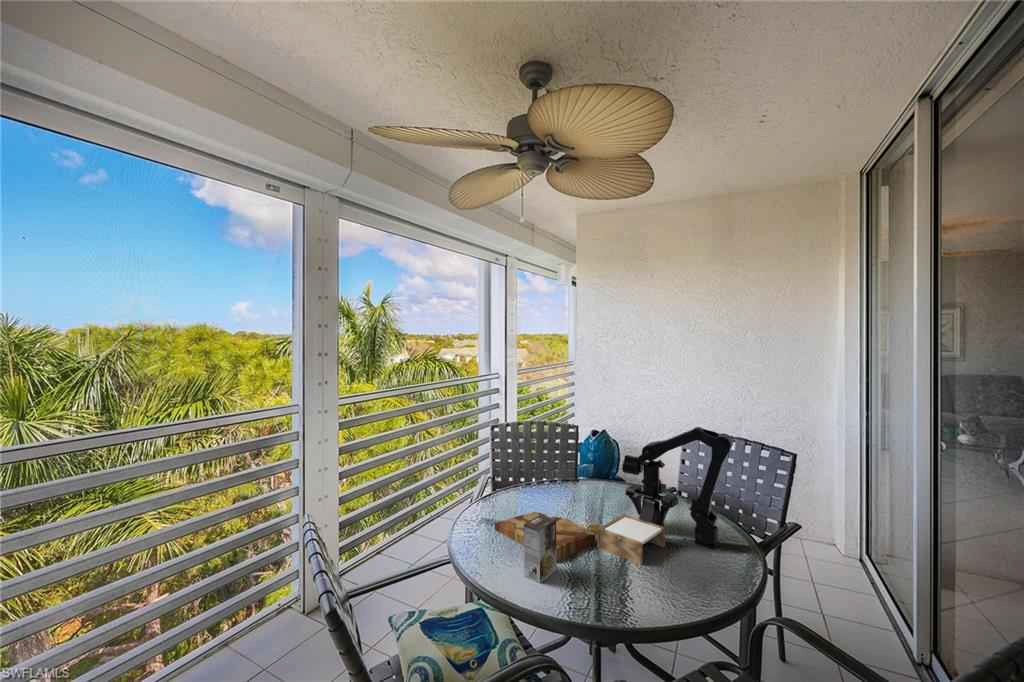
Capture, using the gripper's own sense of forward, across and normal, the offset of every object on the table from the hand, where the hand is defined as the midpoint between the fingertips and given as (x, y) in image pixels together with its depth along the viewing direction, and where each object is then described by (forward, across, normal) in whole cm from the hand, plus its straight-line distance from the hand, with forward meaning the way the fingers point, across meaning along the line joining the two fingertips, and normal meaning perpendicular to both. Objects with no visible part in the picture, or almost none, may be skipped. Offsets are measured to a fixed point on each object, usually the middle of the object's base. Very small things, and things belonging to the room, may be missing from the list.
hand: (651, 518), depth 164 cm
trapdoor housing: (+4, -2, +17) cm, 18 cm away
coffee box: (+5, +10, +52) cm, 53 cm away
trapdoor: (+1, -2, +17) cm, 17 cm away
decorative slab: (+5, +26, +32) cm, 42 cm away
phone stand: (+5, 0, 0) cm, 5 cm away
